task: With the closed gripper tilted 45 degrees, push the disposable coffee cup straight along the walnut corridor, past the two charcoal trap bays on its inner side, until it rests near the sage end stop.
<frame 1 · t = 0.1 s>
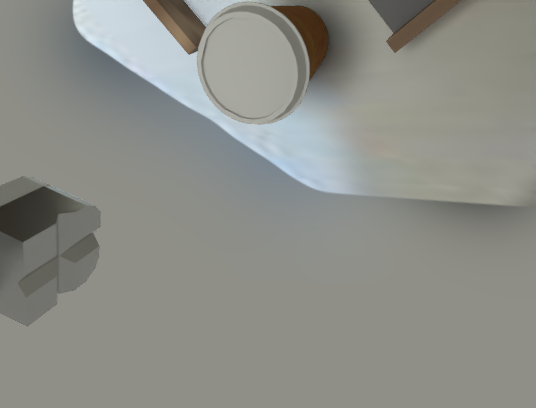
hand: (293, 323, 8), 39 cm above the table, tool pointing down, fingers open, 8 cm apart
disposable coffee cup: (298, 39, 45), on the table
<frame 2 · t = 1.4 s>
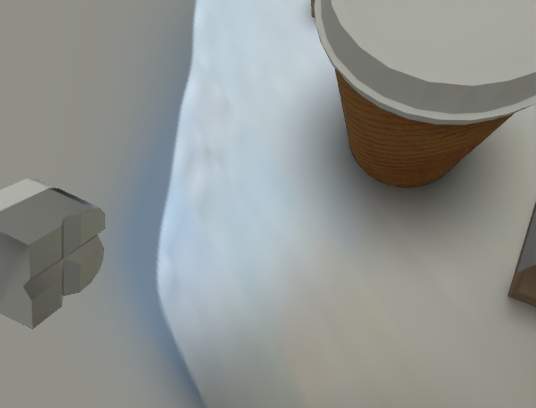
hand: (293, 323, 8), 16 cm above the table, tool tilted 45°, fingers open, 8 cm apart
disposable coffee cup: (404, 137, 26), on the table
walnut corridor: (442, 37, 28), on the table
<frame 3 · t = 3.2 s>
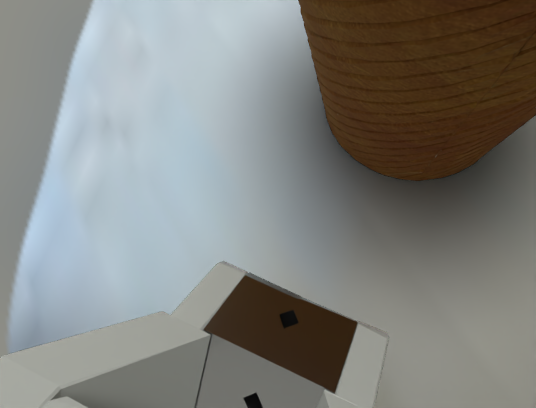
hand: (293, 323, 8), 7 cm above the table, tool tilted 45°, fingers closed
disposable coffee cup: (411, 102, 17), on the table
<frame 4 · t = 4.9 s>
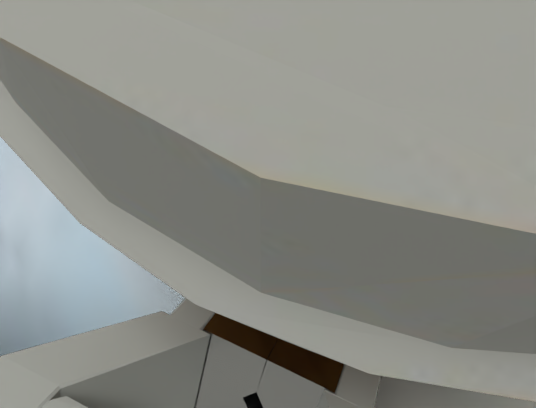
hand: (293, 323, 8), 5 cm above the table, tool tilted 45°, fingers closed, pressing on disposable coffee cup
disposable coffee cup: (363, 201, 14), on the table, touching gripper
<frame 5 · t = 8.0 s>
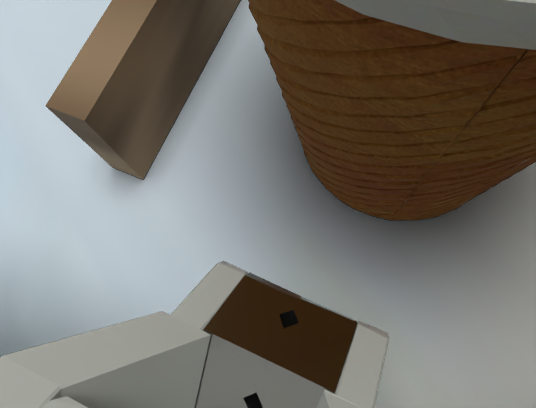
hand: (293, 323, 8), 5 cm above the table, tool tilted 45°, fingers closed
disposable coffee cup: (398, 130, 15), on the table
walnut corridor: (353, 229, 14), on the table
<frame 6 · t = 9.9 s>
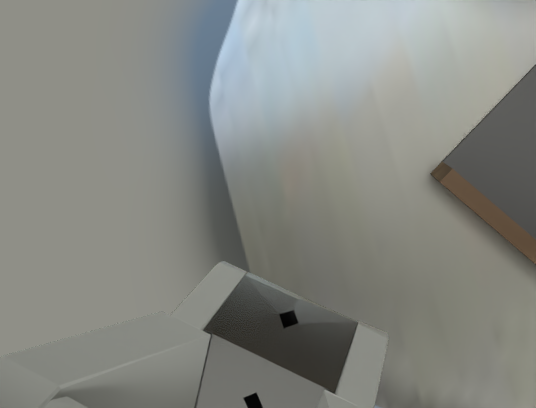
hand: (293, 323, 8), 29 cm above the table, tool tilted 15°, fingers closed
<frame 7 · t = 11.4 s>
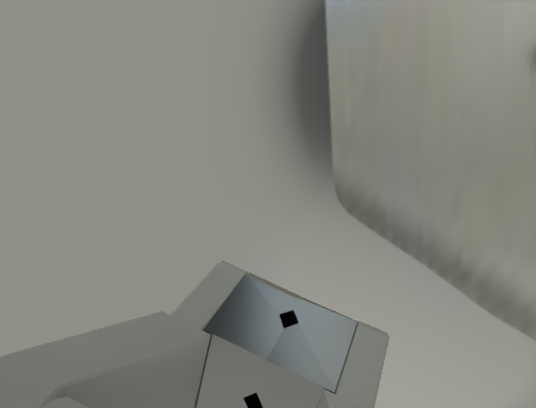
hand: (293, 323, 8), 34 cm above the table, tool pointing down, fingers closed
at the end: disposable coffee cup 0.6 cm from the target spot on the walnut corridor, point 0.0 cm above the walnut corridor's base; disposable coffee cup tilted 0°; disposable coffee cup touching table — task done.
